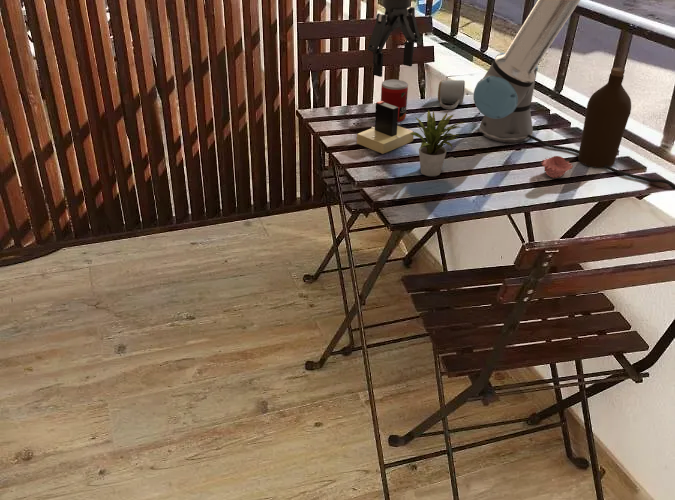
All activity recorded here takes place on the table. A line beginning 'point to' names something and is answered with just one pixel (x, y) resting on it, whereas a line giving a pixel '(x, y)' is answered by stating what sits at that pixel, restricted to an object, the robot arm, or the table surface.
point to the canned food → (395, 95)
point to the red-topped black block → (386, 118)
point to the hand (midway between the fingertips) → (392, 70)
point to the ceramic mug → (451, 93)
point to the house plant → (434, 144)
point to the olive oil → (605, 122)
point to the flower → (556, 166)
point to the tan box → (384, 139)
